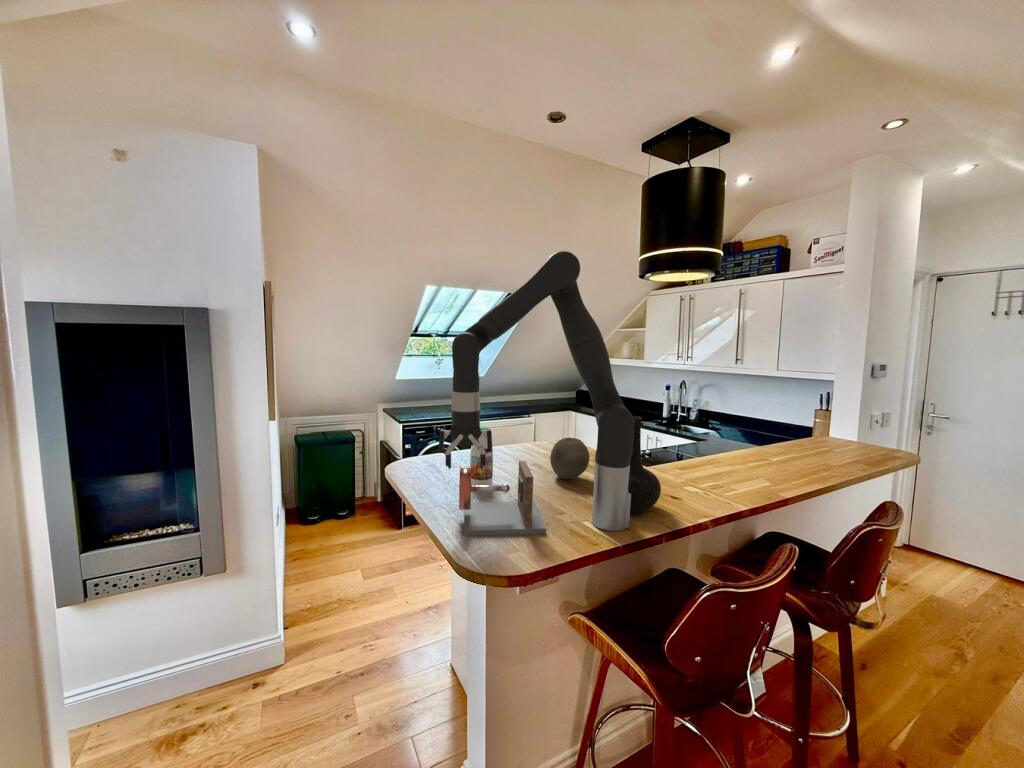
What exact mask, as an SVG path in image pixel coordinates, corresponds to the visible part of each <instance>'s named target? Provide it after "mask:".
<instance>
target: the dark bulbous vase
mask: <svg viewBox="0 0 1024 768" xmlns="http://www.w3.org/2000/svg"><path fill="white" fill-rule="evenodd" d="M632 416H633V418H634V440H633V451H632V456H631V459H630V472H629V489H628V492H629V493H630V494H631V504H630V514H639V513H643V512H646V511H649V510H650V509H651V508H652V507H654V506H655V504H656V503H657V502H658V500H659V499H660V497H661V492H662V487H661V483H660V480H659V478H658V477H657V475H655V473H653V472H652V471H650V470H649V469H647V468H645V467H644V465H643V462H642V452H641V451H642V449H641V447H642V446H641V440H642V439H641V437H642V436H641V433H642V427H643V426H644V422H643V421H642V420H643V417H641V416H638V415H632Z"/></svg>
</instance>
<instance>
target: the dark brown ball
mask: <svg viewBox="0 0 1024 768" xmlns="http://www.w3.org/2000/svg"><path fill="white" fill-rule="evenodd" d="M549 457H550V465H551V468H552V470H553V472H554V473H555V474H554V475H556V476H557V477H559V478H560V479H563V480H572V479H576V478H577V477H580V476H581V475H582V474H583V473H585V472H586V470H587V469H588V467H589V463H590V459H591V458H590V452H589V449H588V447H587V446H586V444H585V443H584V442H583V441H582V440H581V439H579V438H577V437H576V438H575V437H564V438H561V439H559V440H558V441H557V442H556V443H555V444H554V445H553V447H552V449H551V452H550V456H549Z"/></svg>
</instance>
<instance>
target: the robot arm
mask: <svg viewBox="0 0 1024 768" xmlns="http://www.w3.org/2000/svg"><path fill="white" fill-rule="evenodd" d="M580 272H581V264H580V261H579V259H578V257H577V256H576V255H575V254H574V253H572V252H571V251H564V250H562V251H557V252H555V253H553V254H551V255H550V256H549V257H548V258H547V260H546V261H545V262H544V264H543V265H542V266H541V267H540V268H539V269H538V270H537V271H536V273H535V274H533V275H532V276H531V277H530V278H529V279H528V280H527V281H526V282H525V283H524V284H522V285H521V286H520V287H519V288H517V289H516V290H515V291H513V292H512V293H511V294H509V295H508V296H507V297H505V298H504V299H502V300H501V301H500V302H498V303H497V304H496V305H495V306H493V307H492V308H491V309H490V310H488V311H487V312H486V313H485V314H483V315H482V316H481V317H480V318H479V319H478V321H477V322H475V323H473V324H472V325H471V326H470V327H468V328H467V329H466V330H464V331H463V332H461V333H458V334H457V335H456V336H455V337H454V339H453V340H452V343H451V344H452V345H451V355H452V357H451V358H452V369H453V373H452V396H451V405H450V406H451V428H450V430H447V429H443V428H441V429H440V430H439V434H438V435H439V439H438V453H440V454H444V455H445V467H447V468H448V469H449V470H451V469H452V452H453V451H454V449H455V448H456V447H457V446H459V447H465V446H467V447H472V445H475V446H476V448H477V449H478V450H479V451H480V452H481V453H480V468H483V466H485V460H486V453H488V452H492V450H493V439H492V437H493V436H492V435H493V434H492V429H491V428H489V429H487V430H481V429H480V426H481V397H480V373H479V368H480V367H479V364H480V352H481V351H483V350H484V349H485V348H486V347H487V346H489V345H490V344H491V343H492V342H493V341H495V340H497V339H499V338H500V337H502V336H503V335H504V334H505V333H507V332H508V331H509V330H510V329H511V328H513V327H514V326H516V324H518V323H519V322H520V321H521V320H523V318H524V317H525V316H527V315H528V314H529V313H530V312H531V311H532V310H533V309H534V308H535V307H536V306H537V305H539V304H540V303H541V302H543V301H544V300H545V299H547V298H548V297H551V299H552V302H553V303H554V306H555V307H556V310H557V313H558V316H559V320H560V323H561V327H562V330H563V333H564V338H565V340H566V344H567V346H568V350H569V352H570V354H571V357H572V359H573V363H574V364H575V367H576V368H577V369H576V370H577V371H578V374H579V375H580V378H581V379H582V381H583V383H584V385H585V386H586V390H587V391H588V394H589V397H590V400H591V403H592V409H593V412H594V416H595V421H596V426H597V443H596V449H595V450H596V451H595V454H594V455H595V457H594V472H593V473H594V475H593V489H592V490H593V495H592V513H591V514H592V515H591V523H592V525H593V526H594V527H596V528H598V529H601V530H604V531H608V532H619V531H623V530H626V529H630V521H631V519H630V517H631V513H630V504H631V494H630V493H629V492H628V489H629V472H630V459H631V456H632V451H633V440H634V418H633V416H634V415H633V414H632V413H631V412H630V410H628V409H627V407H626V406H625V404H624V402H623V400H622V398H621V396H620V394H619V391H618V389H617V386H616V384H615V382H614V378H613V372H612V366H611V360H610V355H609V352H608V348H607V346H606V343H605V340H604V338H603V335H602V333H601V330H600V328H599V326H598V325H597V322H596V321H595V319H594V318H593V317H592V315H591V313H590V312H589V310H588V309H587V308H586V305H585V304H584V301H583V299H582V296H581V293H580V290H579V286H578V282H577V280H578V278H579V276H580ZM481 434H483V435H484V437H485V438H487V447H485V448H484V447H483V446H482V445H481V443H480V442H479V440H478V439H479V437H480V436H481ZM448 436H450V437H451V439H452V441H451V442H450V444H449V445H448V447H447V448H446V447H445V439H447V438H448Z"/></svg>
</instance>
